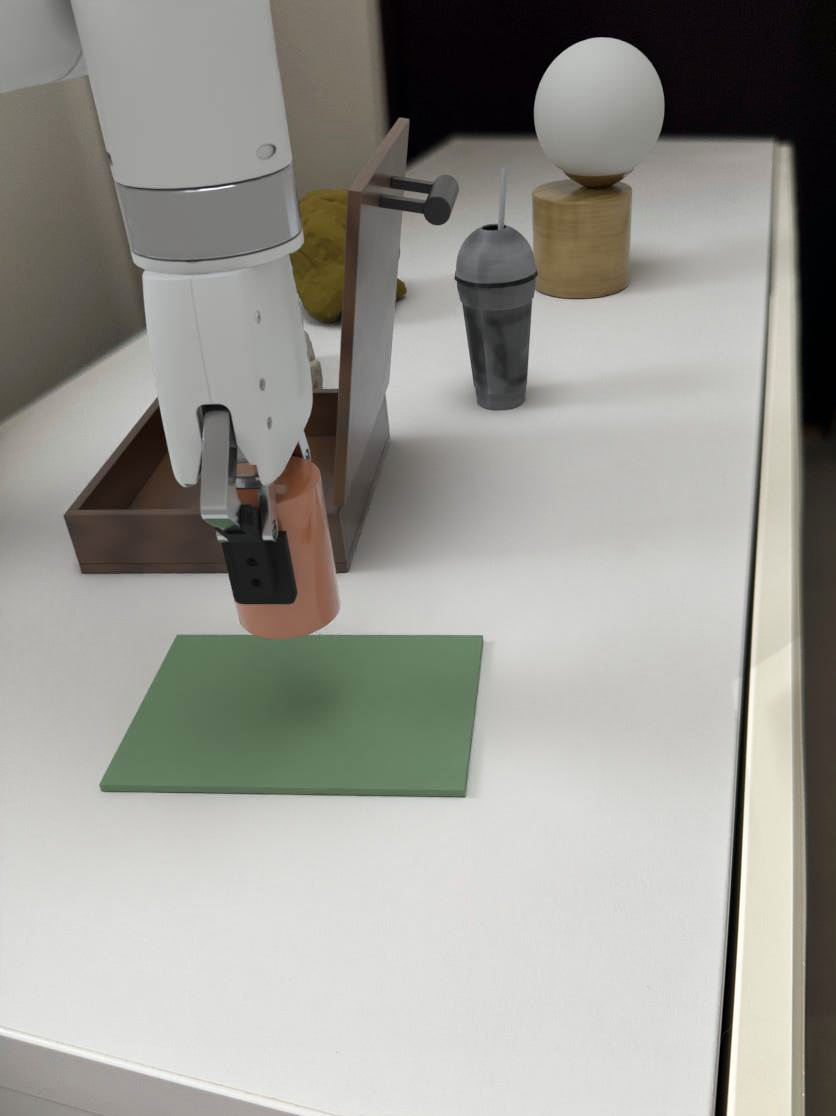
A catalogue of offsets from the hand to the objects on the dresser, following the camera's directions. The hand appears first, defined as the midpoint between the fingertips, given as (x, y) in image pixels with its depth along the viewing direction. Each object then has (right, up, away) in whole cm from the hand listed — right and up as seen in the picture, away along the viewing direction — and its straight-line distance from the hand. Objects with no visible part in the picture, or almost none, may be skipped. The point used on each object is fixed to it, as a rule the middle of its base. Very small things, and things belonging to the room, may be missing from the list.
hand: (280, 565), depth 56 cm
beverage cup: (+13, +18, +42) cm, 47 cm away
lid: (+3, +20, +18) cm, 27 cm away
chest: (-8, +7, +28) cm, 30 cm away
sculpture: (-8, +21, +47) cm, 51 cm away
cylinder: (0, -2, +2) cm, 3 cm away
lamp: (+24, +39, +69) cm, 83 cm away
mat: (0, -8, +6) cm, 10 cm away
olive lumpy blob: (-5, +34, +65) cm, 74 cm away
